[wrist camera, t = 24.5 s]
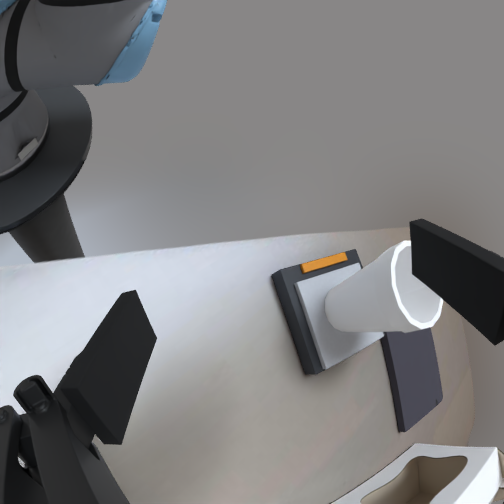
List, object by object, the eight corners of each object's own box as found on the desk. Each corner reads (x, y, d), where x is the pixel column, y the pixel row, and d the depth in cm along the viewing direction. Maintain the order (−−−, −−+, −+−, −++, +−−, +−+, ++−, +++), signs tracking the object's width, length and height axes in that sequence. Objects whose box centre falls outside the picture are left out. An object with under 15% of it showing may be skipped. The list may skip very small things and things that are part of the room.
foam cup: (305, 282, 37) (378, 247, 26) (355, 267, 42) (424, 234, 30) (328, 354, 35) (409, 343, 24) (375, 329, 40) (450, 311, 28)
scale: (271, 274, 40) (283, 267, 37) (345, 254, 46) (359, 246, 43) (305, 374, 37) (319, 374, 34) (374, 337, 43) (389, 334, 40)
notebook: (374, 315, 45) (398, 431, 39) (381, 313, 43) (405, 432, 38) (416, 298, 50) (437, 399, 45) (422, 296, 49) (443, 399, 44)
